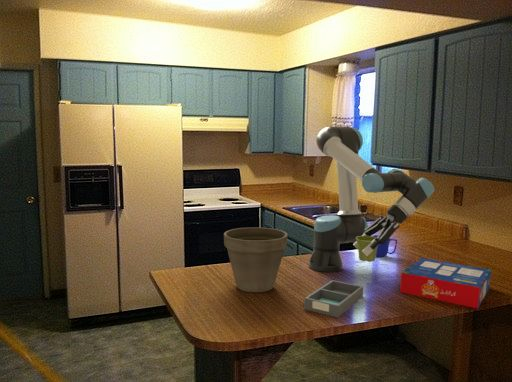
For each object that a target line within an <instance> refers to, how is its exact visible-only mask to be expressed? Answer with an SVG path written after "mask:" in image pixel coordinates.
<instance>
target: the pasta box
mask: <svg viewBox="0 0 512 382" xmlns="http://www.w3.org/2000/svg"><path fill="white" fill-rule="evenodd" d="M491 277H492V269H490V268H484V267H479V266H471V265H466V264H462V263H461V264H459V263H454V262H450V261H448V262H447V261H442V260H436V259H431V258H425V257H420V258H419V259H417V260H416V261H415V262H414V263H412V264H410V265H409V266H408V267H407V268H405V269H404V270H403V271H401V274H400V288H399V290H400V293H403V294H407V295H408V294H409V295H414V296H418V297H422V298H427V299H432V300H437V301H440V300H441V301H440V302H445V301H447V302H446V303H449V304H456V305H458V306H459V305H460V306H465V307H469V308H474V309H479V308H480V306H481V304H482V303H483V301H484V299H485V297H486V295H487V294H488V292H489V291H490V289H491V282H492V281H491Z"/></svg>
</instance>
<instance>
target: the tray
mask: <svg viewBox="0 0 512 382" xmlns="http://www.w3.org/2000/svg"><path fill="white" fill-rule="evenodd" d="M363 297H364V286H362V285H358V284H352V283H348V282H343V281H338V280H331V281H329V282H327V283H326V284H324V285H322V286H321V287H319V288H317V290H314V292H311V293H310V294H308V295H307V296H305V297H304V301H303V302H304V303H303V304H304V305H303V306H304V307H303V309H304V310H306V311H310V312H314V313H319V314H323V315H327V316H331V317H335V318H339V317H341V316H342V315H343V314H344V313H345V312H346V311H348V310H349V309H350V308H351V307H352V306H353V305H355V304H356V303H357V302H359V300H361V299H362V298H363Z"/></svg>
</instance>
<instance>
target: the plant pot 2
mask: <svg viewBox="0 0 512 382" xmlns="http://www.w3.org/2000/svg"><path fill="white" fill-rule="evenodd" d="M373 236H374V235H372V236H358V237H356V240H357V243H358V249H357V250H358V251H357V252H358V260H359V261H361V262H369V263H371V262H375V261H376V258H377V257H376V252H377V247H378V246H377V247H376V248H375V249H374V250H373V251H372V252H371V253H370V254H369V255H368V256H366V255H365V254H364V253H363V252H362V250H363V249H364V248H365V247H367V246H368V245H369V244H370V243H371V242H372V241H373V240H375V239H374V238H377V237H373ZM375 241H376V240H375Z"/></svg>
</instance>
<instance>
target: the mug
mask: <svg viewBox="0 0 512 382" xmlns="http://www.w3.org/2000/svg"><path fill="white" fill-rule="evenodd" d="M378 235H379V234H373V235H372V236H373V237H378ZM391 241H392V242H393V241H394V242H395V244H394V245H395V246H394V249H393V250H392V252H391V251H390V252H389V245H390V243H391ZM397 246H398V240H397V239H396V238H389V239H388V240H387V242H386V243H385V244H384V245H383V244H379V245H378V247H377V252H376V258H386V257H387V256H388V255H393V254H395V252H396V250H397Z"/></svg>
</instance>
